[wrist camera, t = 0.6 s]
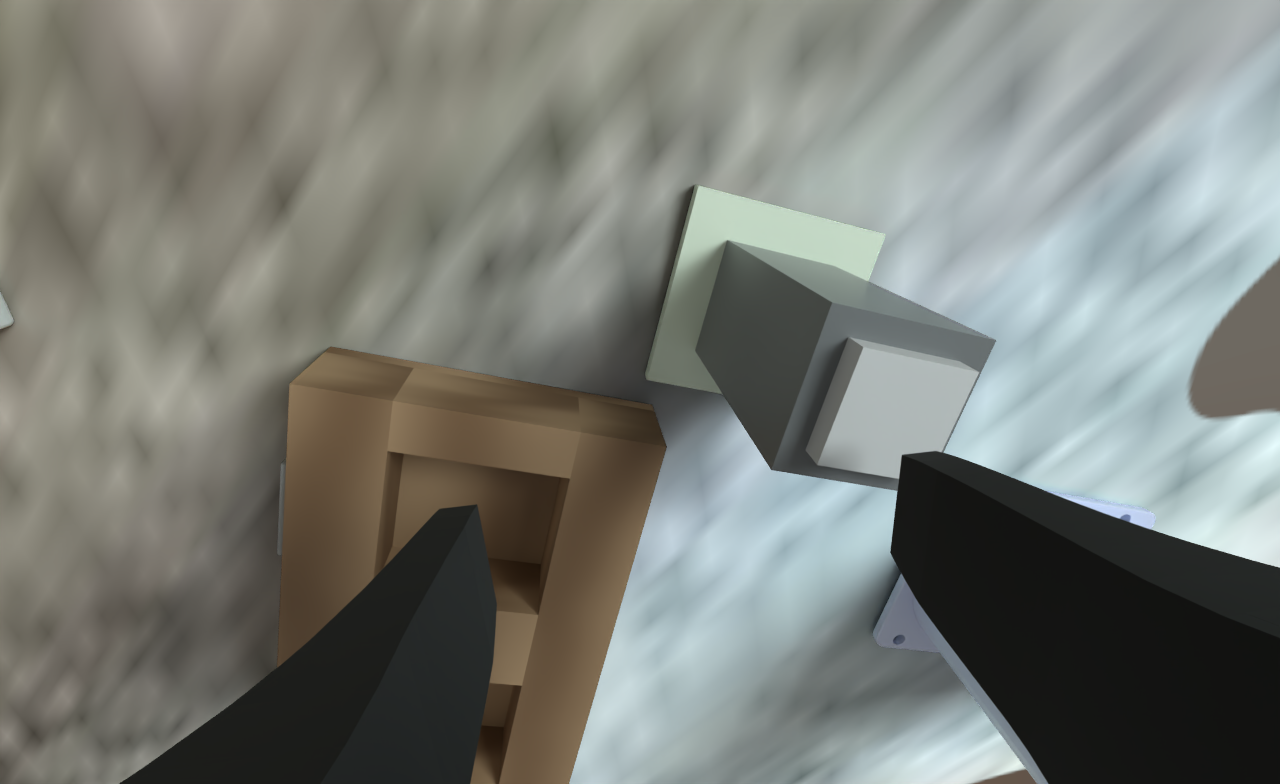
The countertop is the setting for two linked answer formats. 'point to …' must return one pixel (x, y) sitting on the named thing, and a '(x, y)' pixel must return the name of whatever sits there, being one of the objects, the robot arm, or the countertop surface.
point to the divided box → (510, 517)
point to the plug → (834, 366)
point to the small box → (5, 314)
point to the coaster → (701, 257)
